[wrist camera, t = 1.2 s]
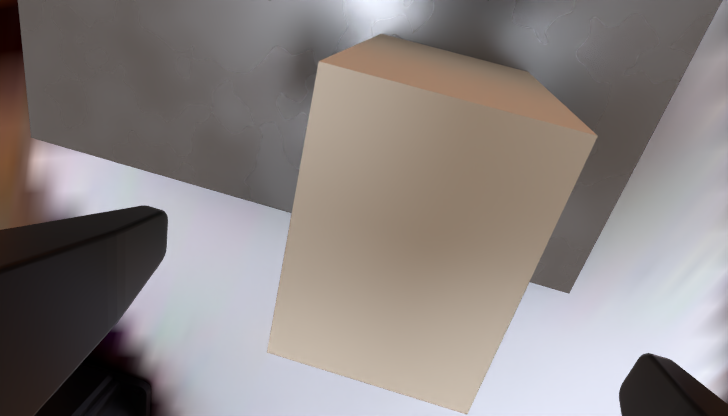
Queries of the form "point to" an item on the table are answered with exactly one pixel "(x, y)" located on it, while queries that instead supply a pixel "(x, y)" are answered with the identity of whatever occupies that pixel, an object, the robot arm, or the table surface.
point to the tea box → (420, 215)
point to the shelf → (298, 73)
